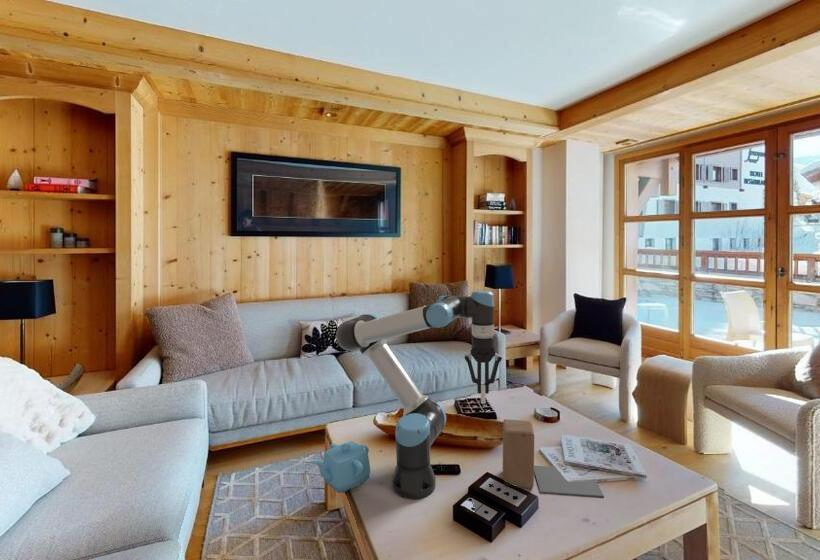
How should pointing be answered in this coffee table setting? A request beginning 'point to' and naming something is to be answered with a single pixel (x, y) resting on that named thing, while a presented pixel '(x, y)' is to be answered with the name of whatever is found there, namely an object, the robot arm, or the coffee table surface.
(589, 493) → the mat
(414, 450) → the robot arm
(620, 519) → the coffee table surface
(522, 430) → the wooden block
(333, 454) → the teapot
